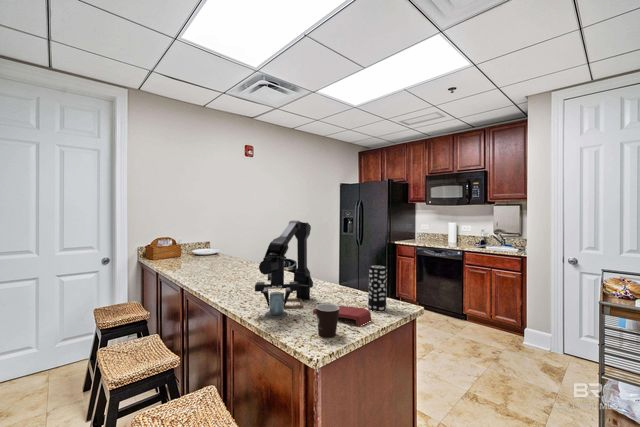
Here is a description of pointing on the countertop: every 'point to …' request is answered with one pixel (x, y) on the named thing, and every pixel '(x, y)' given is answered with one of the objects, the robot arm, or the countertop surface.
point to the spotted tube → (377, 288)
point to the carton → (354, 314)
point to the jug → (276, 303)
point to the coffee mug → (327, 320)
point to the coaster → (276, 315)
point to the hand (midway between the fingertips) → (276, 306)
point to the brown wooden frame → (294, 305)
